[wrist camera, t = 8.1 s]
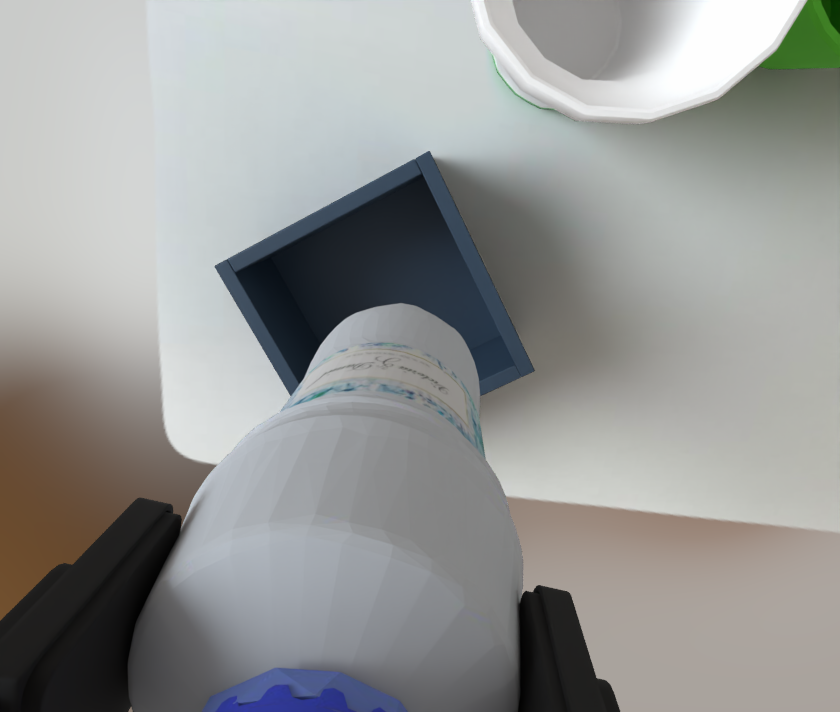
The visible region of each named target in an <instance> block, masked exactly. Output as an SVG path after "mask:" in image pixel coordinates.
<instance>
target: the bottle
mask: <svg viewBox="0 0 840 712" xmlns="http://www.w3.org/2000/svg"><path fill="white" fill-rule="evenodd" d="M479 418H480V388H479V377H478V373H477V370H476V366H475V362H474V360H473V358H472V355H471V353H470V351H469V348H468V346H467V345H466V343H465V341H464V339H463V338H462V336H461V335H460V334H459V333H458V332H457V331H456V330H455V329H454V328H452V327H451V326H450V325H448V324H447V323H445V322H444V321H442V320H441V319H439V318H438V317H437V316H435V315H433V314H431V313H429V312H427V311H425V310H423V309H421V308H419V307H417V306H414V305H409V304H403V303H398V304H391V305H385V306H378V307H373V308H370V309H367V310H364V311H360V312H357V313H355V314H353V315H351V316H349V317H348V318H346V319H345V320H343V321H342V322H341V323H340V324H339V325H338V326H336V328H335V329H334V330H333V331H332V332H331V333H330V334H329V335H328V336H327V337H326V339H325V340H324V341H323V343H322V344H321V345H320V347H319V349H318V350H317V352H316V354H315V356H314V358H313V360H312V361H311V363H310V366H309V368H308V370H307V373H306V375H305V377H304V379H303V380H302V382H301V383H300V385H299V386H298V387H297V389H296V390H295V392H294V393H293V394H292V396H291V397H290V399H289V400H288V401H287V403H286V404H285V406H284V407H283V408H282V410H281V411H280V412H279V413H277V414H276V415H274V416H272V417H271V418H269V419H268V420H266V421H264V422H263V423H261V424H260V425H258V426H257V427H255V428H254V429H253V430H252V431H250V432H249V433H248V434H247V435H246V436H245V437H244V438H243V439H242V440H241V441H240V442H239V443H238V444H237V446H236V447H235V448H234V449H233V451H232V452H231V453H229V454H228V455H227V456H226V457H225V458H224V459H223V460H222V461H221V462H220V463H219V464H218V465H217V466H216V467H215V468H214V470H213V471H212V472H211V473H210V474H209V475H208V477H207V478H206V479H205V481H204V482H203V484H202V485H201V487H200V488H199V490H198V492H197V493H196V495H195V496H194V498H193V500H192V503H191V505H190V508H189V510H188V513H187V515H186V518H185V520H184V523H183V525H182V527H181V529H180V534H179V536H178V538H177V540H176V542H175V544H174V546H173V547H172V549H171V551H170V553H169V555H168V557H167V559H166V561H165V563H164V565H163V567H162V569H161V571H160V573H159V575H158V577H157V579H156V581H155V583H154V586H153V588H152V590H151V592H150V594H149V596H148V598H147V600H146V602H145V604H144V606H143V608H142V610H141V613H140V615H139V617H138V619H137V621H136V624H135V628H134V633H133V637H132V642H131V647H130V652H129V657H128V691H129V699H130V703H131V706H132V710H133V712H518V708H519V701H520V612H519V604H520V601H521V596H522V589H523V557H522V551H521V545H520V542H519V538H518V535H517V531H516V528H515V525H514V523H513V520H512V518H511V515H510V511H509V506H508V503H507V499H506V496H505V494H504V491H503V489H502V487H501V484H500V482H499V480H498V478H497V476H496V475H495V473H494V472H493V470H492V469H491V467H490V466H489V464H488V463H487V461H486V459H485V453H484V446H483V440H482V433H481V427H480V421H479Z"/></svg>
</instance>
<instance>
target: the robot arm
mask: <svg viewBox="0 0 840 712" xmlns="http://www.w3.org/2000/svg"><path fill="white" fill-rule="evenodd" d="M181 520H182V519H181V516H180V515H177V514H173V507H172V505H171V504H167V503H163V502H158V501H154V500H149V499H144V498H138V499H136V500H135V501H134V502H133V503H132V504H131V505H130V506H129V507H128V508H127V509H126V510H125V511H124V512H123V513H122V514H121V515H120V516H119V518H117V520H116V521H115V522H114V523H113V524H112V525H111V526H110V527H109V528H108V529H107V530H106V531H105V532H104V533H103V534H102V535H101V536H100V537H99V538H98V539H97V540H96V541H95V542H94V543H93V544H92V545H91V546H90V547H89V548H88V549H87V550H86V551H85V553H83V555H82V556H81V557H80V558H79V559H78V560H77V561H76V562H75V563H74V564H73V565H71V564H66V563H64V564H60V565H58V566H56V567H55V568H54V569H53V570H51V571H50V572H49V573H48V574H47V575H46V576H45V577H44V578H43V579H42V580H41V581H40V582H39V583H38V584H37V585H36V586H35V587H34V588H33V589H32V590H31V591H30V592H29V593H28V594H27V595H26V596H25V597H24V598H23V599H22V600H21V601H20V602H19V603H18V604H17V605H16V606H15V607H14V608H13V609H12V610H11V611H10V612H9V613H8V614H7V615H6V616H5V617H4V618H3V619H2V620H1V621H0V712H128V711H129V709H130V707H131V703H130V699H129V691H128V657H129V652H130V647H131V642H132V637H133V633H134V628H135V624H136V621H137V619H138V617H139V615H140V613H141V610H142V608H143V606H144V604H145V602H146V600H147V598H148V596H149V594H150V592H151V590H152V588H153V586H154V583H155V581H156V579H157V577H158V575H159V573H160V571H161V569H162V567H163V565H164V563H165V561H166V559H167V557H168V555H169V553H170V551H171V549H172V547H173V546H174V544H175V542H176V540H177V538H178V536H179V534H180V529H181ZM519 612H520V701H519V708H518V712H620V710H619V707H618V704H617V701H616V698H615V695H614V692H613V690H612V688H611V685H610V684H609V683H608V682H607V681H605V680H602V679H597V678H596V675H595V672H594V668H593V665H592V662H591V659H590V655H589V652H588V649H587V646H586V643H585V640H584V636H583V633H582V630H581V626H580V623H579V620H578V617H577V614H576V610H575V607H574V603H573V600H572V597H571V595H570V593H569V592H567V591H563V590H558V589H553V588H549V587H545V586H540V585H538V586H536V588H535V589H534V591H533V592H528V591H525V592H524V593H523V595H522V598H521V601H520V604H519Z"/></svg>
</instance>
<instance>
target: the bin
mask: <svg viewBox="0 0 840 712" xmlns="http://www.w3.org/2000/svg"><path fill="white" fill-rule="evenodd" d="M215 268H216V270H217V272H218V273H219V275H220V277H221V278H222V280H223V282H224V284H225V285H226V287H227V289H228V290H229V292H230V294H231V295H232V297H233V299H234V301H235V302H236V304H237V306H238V307H239V309H240V311H241V312H242V314H243V316H244V318H245V319H246V321H247V323H248V324H249V326H250V328H251V329H252V331H253V333H254V334H255V336H256V338H257V340H258V341H259V343H260V345H261V346H262V348H263V350H264V351H265V353H266V355H267V357H268V358H269V360H270V362H271V363H272V365H273V367H274V368H275V370H276V372H277V374H278V375H279V377H280V379H281V380H282V382H283V384H284V385H285V387H286V389H287V391H288V392H289V394H290V396H292V394H293V393H294V392H295V390H296V389H297V387H298V386H299V385H300V383H301V382H302V380H303V379H304V377H305V375H306V373H307V370H308V368H309V366H310V363H311V361H312V360H313V358H314V356H315V354H316V352H317V350H318V349H319V347H320V345H321V344H322V343H323V341H324V340H325V339H326V337H327V336H328V335H329V334H330V333H331V332H332V331H333V330H334V329H335V328H336V326H338V325H339V324H340V323H341V322H342V321H343V320H345V319H346V318H348V317H349V316H351V315H353V314H355V313H357V312H360V311H364V310H367V309H370V308H373V307H378V306H385V305H391V304H398V303H403V304H409V305H414V306H417V307H419V308H421V309H423V310H425V311H427V312H429V313H431V314H433V315H435V316H437V317H438V318H439V319H441V320H442V321H444V322H445V323H447V324H448V325H450V326H451V327H452V328H454V329H455V330H456V331H457V332H458V333H459V334H460V335H461V336H462V338H463V339H464V341H465V343H466V345H467V346H468V348H469V351H470V353H471V355H472V358H473V360H474V362H475V366H476V370H477V373H478V377H479V388H480V396H482V395H484V394H486V393H488V392H490V391H492V390H495V389H497V388H499V387H501V386H503V385H505V384H508V383H510V382H512V381H514V380H516V379H519V378H521V377H523V376H525V375H527V374H529V373H532V372H534V371H535V370H534V368H533V366H532V364H531V362H530V359H529V357H528V355H527V353H526V351H525V349H524V347H523V345H522V343H521V341H520V339H519V337H518V334H517V332H516V330H515V328H514V326H513V324H512V322H511V320H510V318H509V316H508V314H507V311H506V309H505V307H504V305H503V303H502V301H501V299H500V297H499V295H498V293H497V291H496V288H495V286H494V284H493V282H492V280H491V278H490V276H489V274H488V272H487V270H486V268H485V265H484V263H483V261H482V259H481V257H480V255H479V253H478V251H477V249H476V247H475V245H474V242H473V240H472V238H471V236H470V234H469V232H468V230H467V228H466V226H465V224H464V222H463V219H462V217H461V215H460V213H459V211H458V209H457V207H456V205H455V203H454V201H453V199H452V196H451V194H450V192H449V190H448V188H447V186H446V184H445V182H444V180H443V178H442V176H441V173H440V171H439V169H438V167H437V165H436V163H435V161H434V159H433V157H432V155H431V153H430V151H428V152H426V153H425V154H423V155H421V156H419V157H417V158H416V160H415V159H413V160H412V161H410V162H408V163H406V164H404V165H402V166H400V167H398V168H397V169H395V170H393V171H391V172H389V173H387V174H385V175H384V176H382V177H380V178H378V179H376V180H374V181H372V182H370V183H369V184H367V185H365V186H363V187H361V188H359V189H357V190H355V191H354V192H352V193H350V194H348V195H346V196H344V197H342V198H341V199H339V200H337V201H335V202H333V203H331V204H329V205H327V206H326V207H324V208H322V209H320V210H318V211H316V212H314V213H313V214H311V215H309V216H307V217H305V218H303V219H301V220H299V221H298V222H296V223H294V224H292V225H290V226H288V227H286V228H285V229H283V230H281V231H279V232H277V233H275V234H273V235H271V236H270V237H268V238H266V239H264V240H262V241H260V242H258V243H257V244H255V245H253V246H251V247H249V248H247V249H245V250H243V251H242V252H240V253H238V254H236V255H234V256H232V257H230V258H229V259H227V260H225V261H223V262H221V263H219V264H217V265H215Z"/></svg>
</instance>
